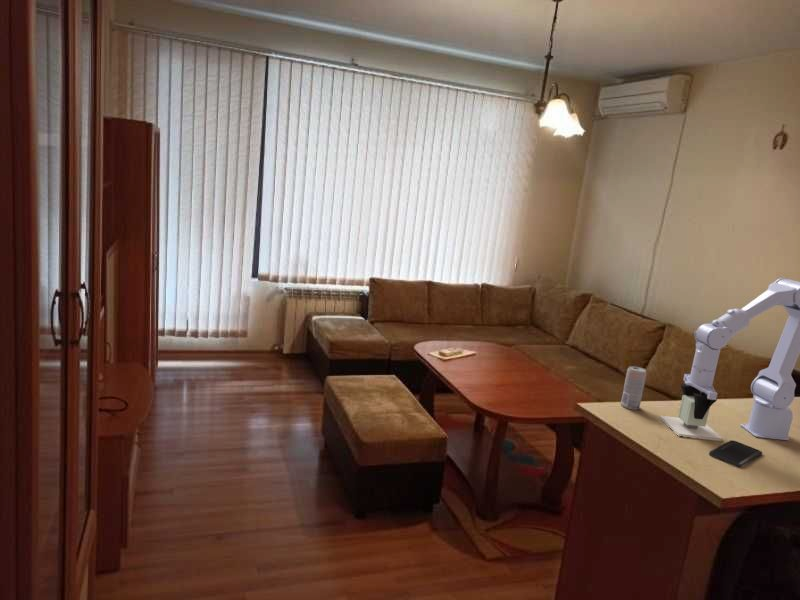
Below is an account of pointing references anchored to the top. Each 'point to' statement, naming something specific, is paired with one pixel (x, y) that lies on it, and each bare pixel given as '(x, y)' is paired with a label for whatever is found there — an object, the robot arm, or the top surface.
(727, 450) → the phone
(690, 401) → the pale green slotted block
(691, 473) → the top surface
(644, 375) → the energy drink
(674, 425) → the post board
